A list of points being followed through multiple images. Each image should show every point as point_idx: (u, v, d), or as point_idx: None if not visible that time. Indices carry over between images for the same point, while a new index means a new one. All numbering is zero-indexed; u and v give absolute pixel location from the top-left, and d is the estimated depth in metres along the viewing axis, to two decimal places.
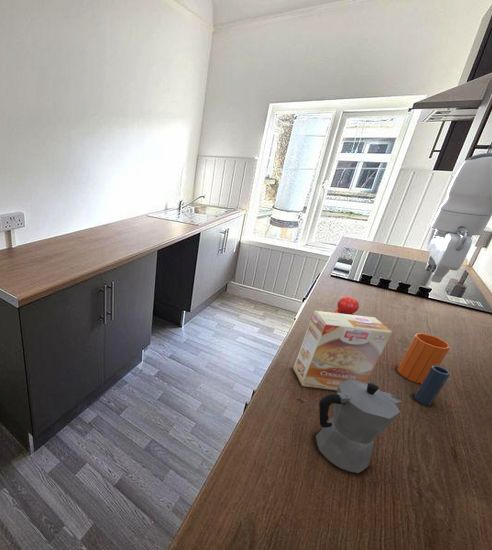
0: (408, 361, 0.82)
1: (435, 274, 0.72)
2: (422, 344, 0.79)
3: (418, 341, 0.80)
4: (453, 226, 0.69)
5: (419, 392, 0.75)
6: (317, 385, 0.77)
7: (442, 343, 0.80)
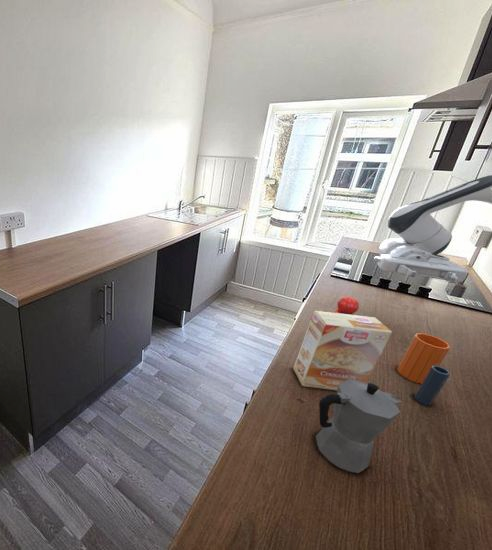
0: (408, 361, 0.82)
1: (404, 273, 0.88)
2: (422, 344, 0.79)
3: (418, 341, 0.80)
4: None
5: (419, 392, 0.75)
6: (317, 385, 0.77)
7: (442, 343, 0.80)
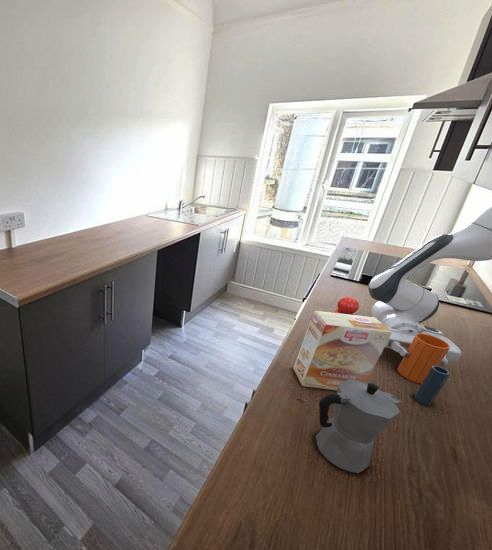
0: (408, 361, 0.82)
1: (398, 351, 0.85)
2: (422, 344, 0.79)
3: (418, 341, 0.80)
4: None
5: (419, 392, 0.75)
6: (317, 385, 0.77)
7: (442, 343, 0.80)
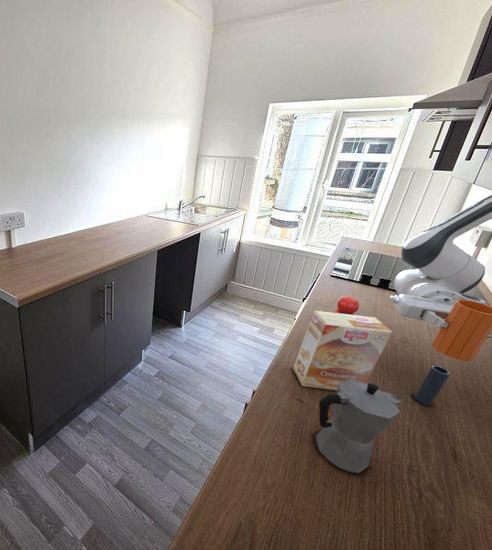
0: (447, 334, 0.67)
1: (434, 322, 0.70)
2: (466, 311, 0.64)
3: (461, 308, 0.65)
4: None
5: (419, 392, 0.75)
6: (317, 385, 0.77)
7: (490, 310, 0.65)
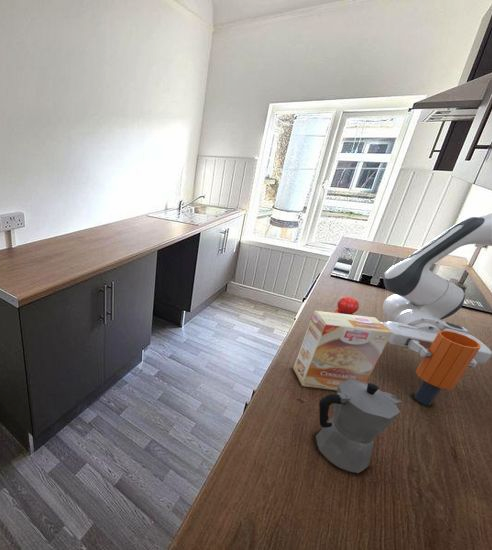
0: (430, 363, 0.71)
1: (417, 351, 0.73)
2: (447, 343, 0.67)
3: (442, 339, 0.68)
4: None
5: (419, 392, 0.75)
6: (317, 385, 0.77)
7: (470, 342, 0.68)
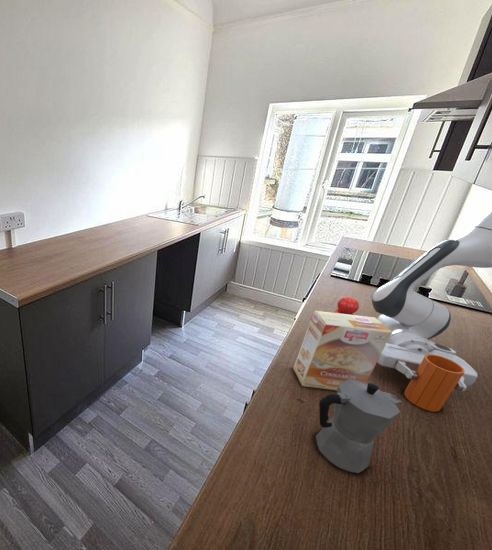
0: (417, 386, 0.73)
1: (404, 373, 0.76)
2: (432, 367, 0.70)
3: (428, 364, 0.71)
4: None
5: None
6: (317, 385, 0.77)
7: (455, 366, 0.71)
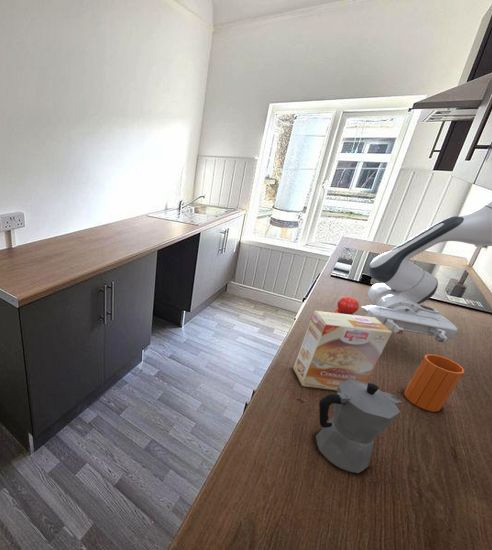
0: (417, 386, 0.73)
1: (392, 329, 0.85)
2: (432, 367, 0.70)
3: (428, 364, 0.71)
4: None
5: None
6: (317, 385, 0.77)
7: (455, 366, 0.71)
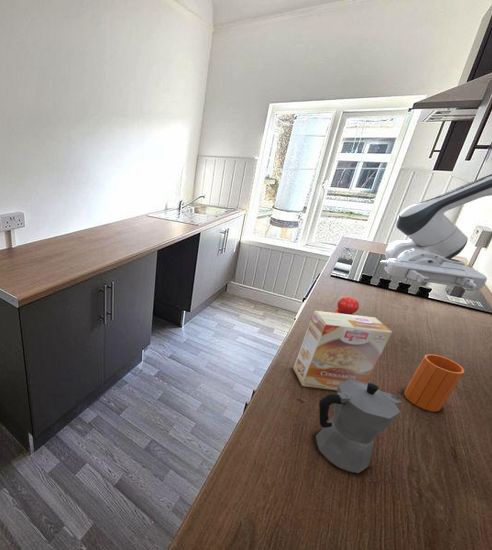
0: (417, 386, 0.73)
1: (415, 279, 0.79)
2: (432, 367, 0.70)
3: (428, 364, 0.71)
4: None
5: None
6: (317, 385, 0.77)
7: (455, 366, 0.71)
